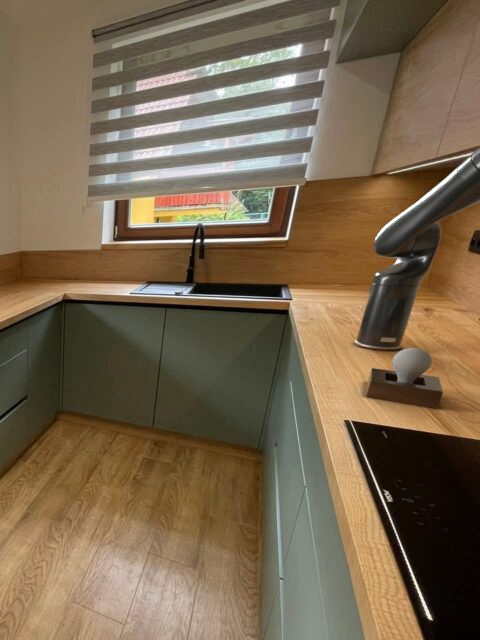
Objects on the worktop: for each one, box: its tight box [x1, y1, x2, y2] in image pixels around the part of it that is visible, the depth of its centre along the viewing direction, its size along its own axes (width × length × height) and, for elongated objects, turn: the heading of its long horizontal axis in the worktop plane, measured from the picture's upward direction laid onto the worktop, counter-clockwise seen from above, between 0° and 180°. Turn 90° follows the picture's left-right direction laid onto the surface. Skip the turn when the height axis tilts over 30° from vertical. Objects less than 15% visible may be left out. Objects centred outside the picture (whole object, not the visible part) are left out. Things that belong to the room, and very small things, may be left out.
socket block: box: [365, 367, 444, 409], centre depth 88 cm, size 10×10×4 cm
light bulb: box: [392, 347, 433, 384], centre depth 86 cm, size 6×6×10 cm
